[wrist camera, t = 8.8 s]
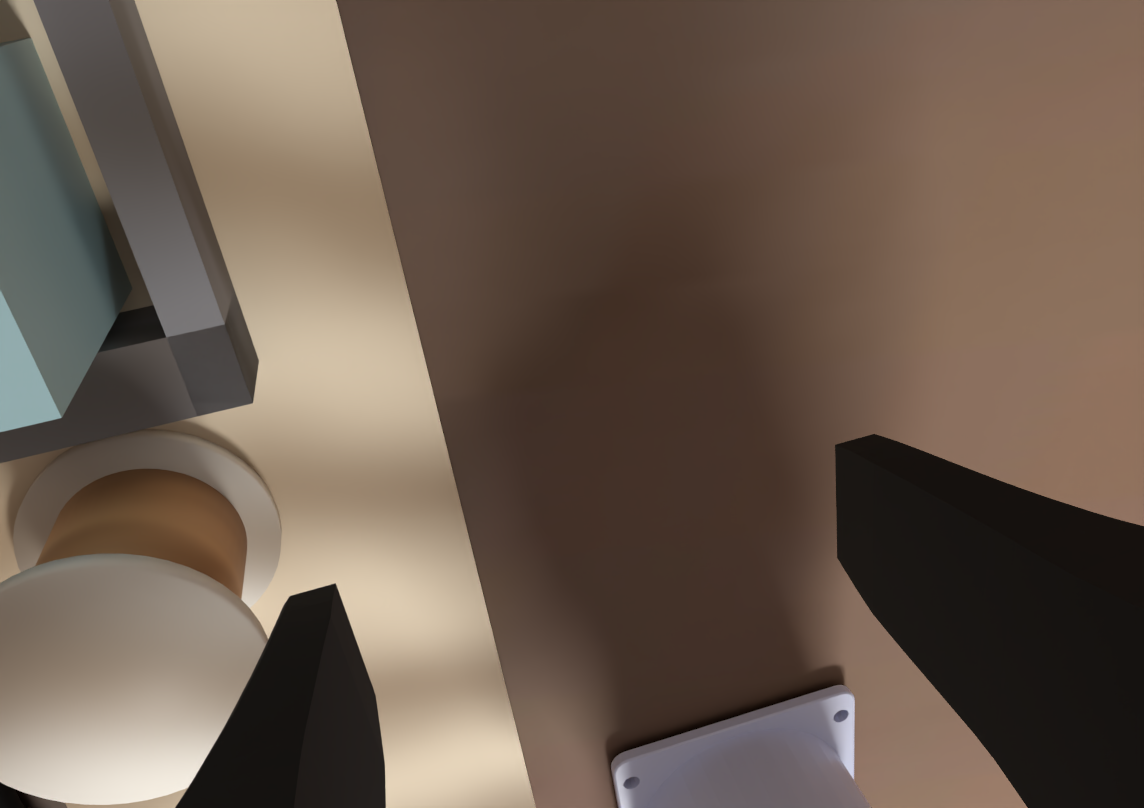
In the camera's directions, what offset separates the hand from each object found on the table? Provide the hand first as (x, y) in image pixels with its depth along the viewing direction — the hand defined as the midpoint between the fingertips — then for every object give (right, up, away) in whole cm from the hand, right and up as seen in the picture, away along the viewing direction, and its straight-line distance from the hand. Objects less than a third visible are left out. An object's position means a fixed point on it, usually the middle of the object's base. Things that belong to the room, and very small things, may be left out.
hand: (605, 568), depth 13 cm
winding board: (-9, 0, +8) cm, 12 cm away
